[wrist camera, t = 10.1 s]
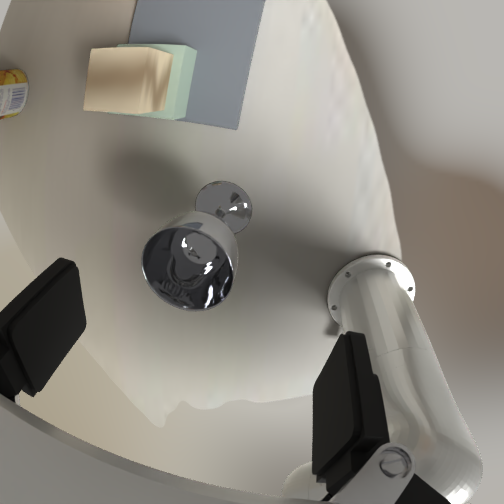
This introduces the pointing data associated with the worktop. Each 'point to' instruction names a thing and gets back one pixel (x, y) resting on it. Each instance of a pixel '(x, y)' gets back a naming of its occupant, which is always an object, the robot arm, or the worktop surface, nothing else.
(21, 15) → the worktop surface
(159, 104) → the maple cube
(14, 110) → the canned food
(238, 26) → the building board
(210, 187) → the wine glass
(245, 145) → the worktop surface
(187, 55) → the sage slab
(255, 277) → the worktop surface
